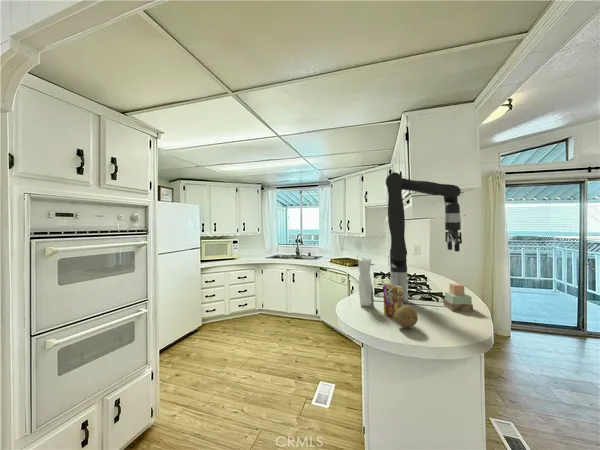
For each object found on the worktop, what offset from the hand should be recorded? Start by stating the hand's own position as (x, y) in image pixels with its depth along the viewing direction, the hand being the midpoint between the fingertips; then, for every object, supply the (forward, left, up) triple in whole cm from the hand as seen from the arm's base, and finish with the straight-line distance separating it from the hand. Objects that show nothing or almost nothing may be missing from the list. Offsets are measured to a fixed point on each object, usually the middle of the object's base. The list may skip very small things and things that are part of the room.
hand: (453, 250), depth 142 cm
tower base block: (-2, -7, -30) cm, 31 cm away
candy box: (-38, -21, -30) cm, 53 cm away
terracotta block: (-2, -7, -22) cm, 24 cm away
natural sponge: (-36, -36, -30) cm, 59 cm away
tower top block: (-2, -8, -26) cm, 27 cm away
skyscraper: (-49, -4, -30) cm, 58 cm away
